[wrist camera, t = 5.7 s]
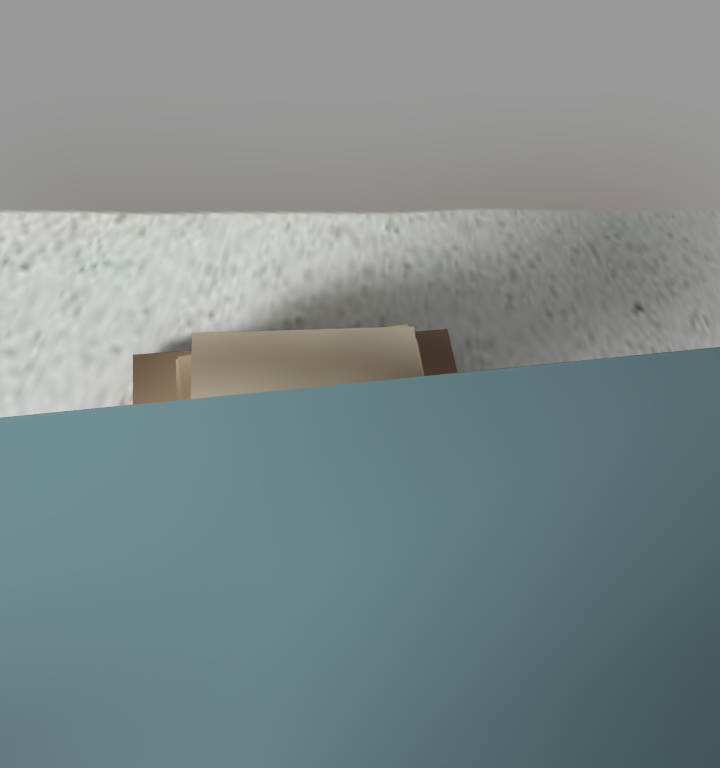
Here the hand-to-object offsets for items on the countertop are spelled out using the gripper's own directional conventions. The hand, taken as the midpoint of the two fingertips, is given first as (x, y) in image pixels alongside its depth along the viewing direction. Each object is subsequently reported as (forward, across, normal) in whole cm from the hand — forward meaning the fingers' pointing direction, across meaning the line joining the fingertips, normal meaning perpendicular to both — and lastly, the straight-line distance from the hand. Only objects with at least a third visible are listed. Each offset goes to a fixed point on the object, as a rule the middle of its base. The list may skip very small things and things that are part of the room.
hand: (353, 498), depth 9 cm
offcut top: (+10, 0, +3) cm, 10 cm away
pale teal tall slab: (+4, 0, +6) cm, 7 cm away
